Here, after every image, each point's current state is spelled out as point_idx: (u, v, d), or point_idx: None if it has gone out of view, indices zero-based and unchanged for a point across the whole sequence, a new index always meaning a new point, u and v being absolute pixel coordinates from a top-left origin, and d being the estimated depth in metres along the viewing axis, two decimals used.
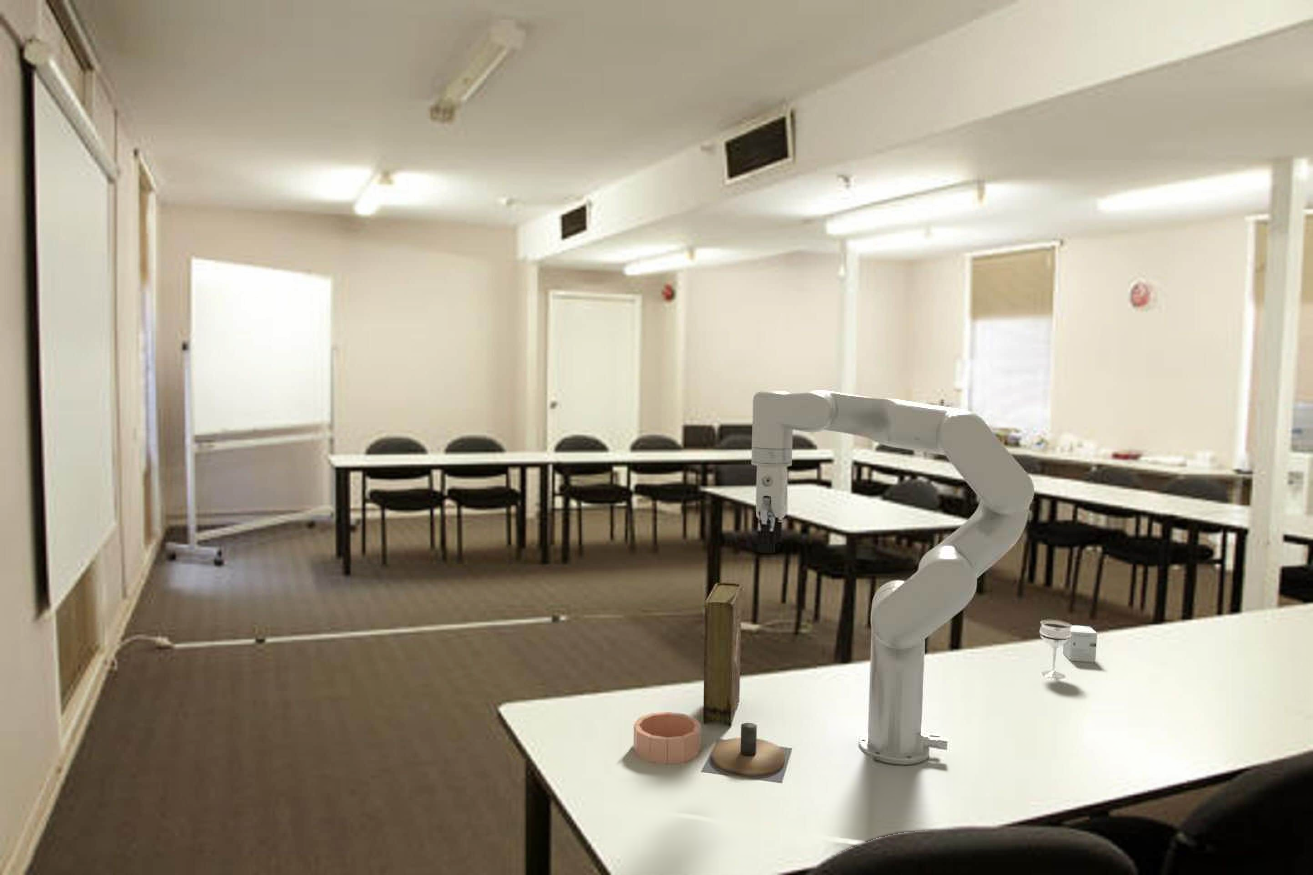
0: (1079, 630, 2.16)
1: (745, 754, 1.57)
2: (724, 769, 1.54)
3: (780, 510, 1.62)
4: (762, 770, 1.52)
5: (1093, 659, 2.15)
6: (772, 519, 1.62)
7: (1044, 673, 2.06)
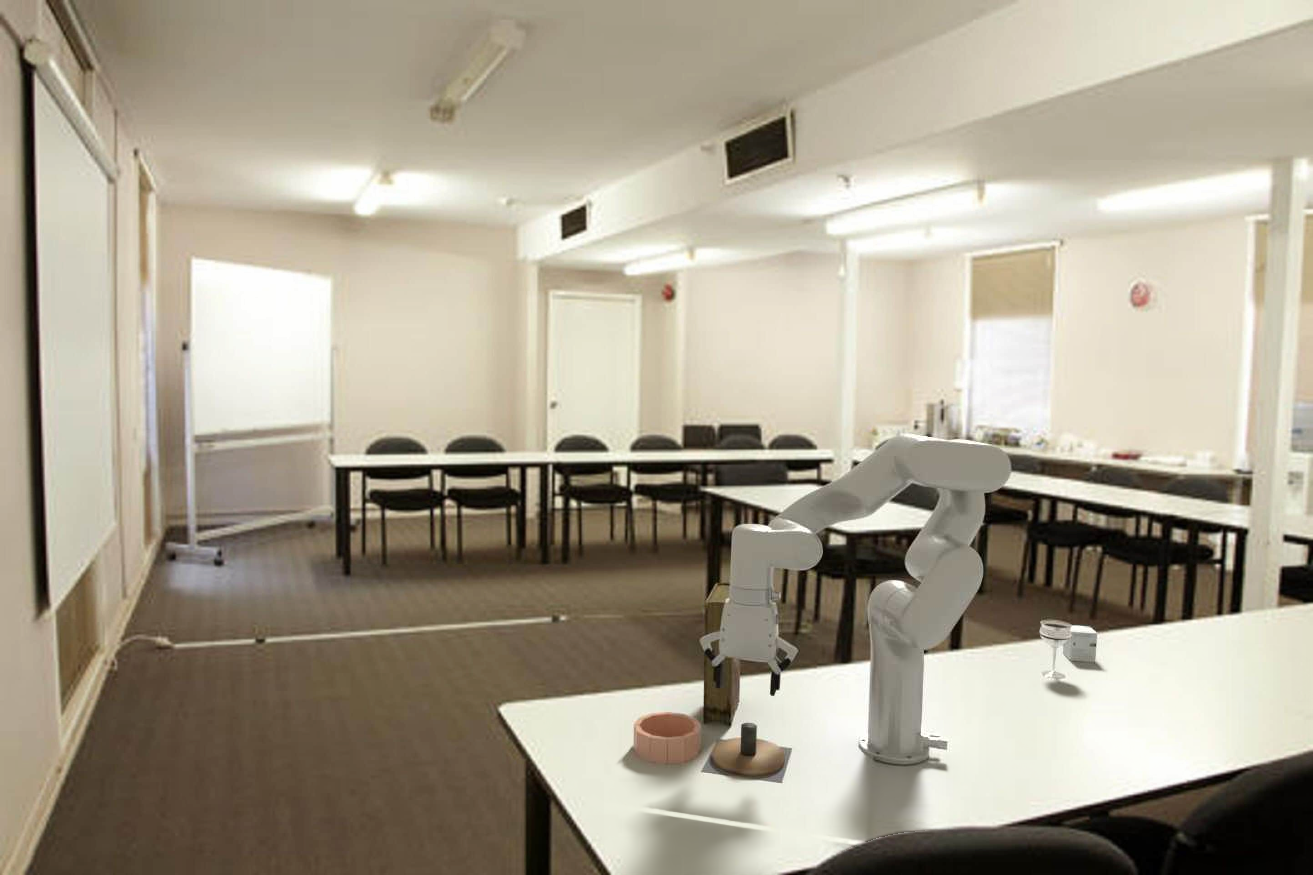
0: (1079, 630, 2.16)
1: (745, 754, 1.57)
2: (724, 769, 1.54)
3: None
4: (762, 770, 1.52)
5: (1093, 659, 2.15)
6: (776, 657, 1.57)
7: (1044, 673, 2.06)
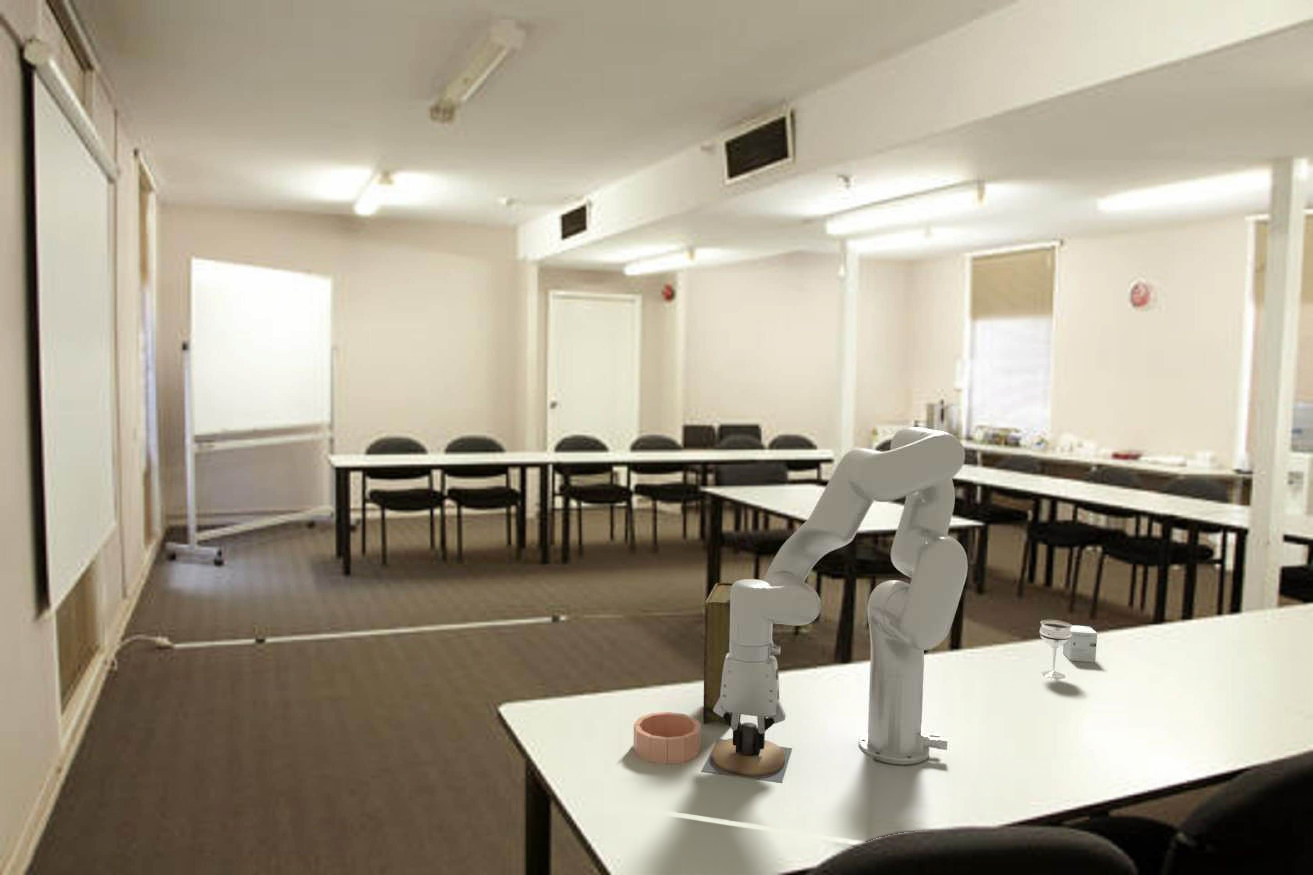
0: (1079, 630, 2.16)
1: (745, 754, 1.57)
2: (724, 769, 1.54)
3: None
4: (763, 770, 1.52)
5: (1093, 659, 2.15)
6: (766, 716, 1.58)
7: (1044, 673, 2.06)
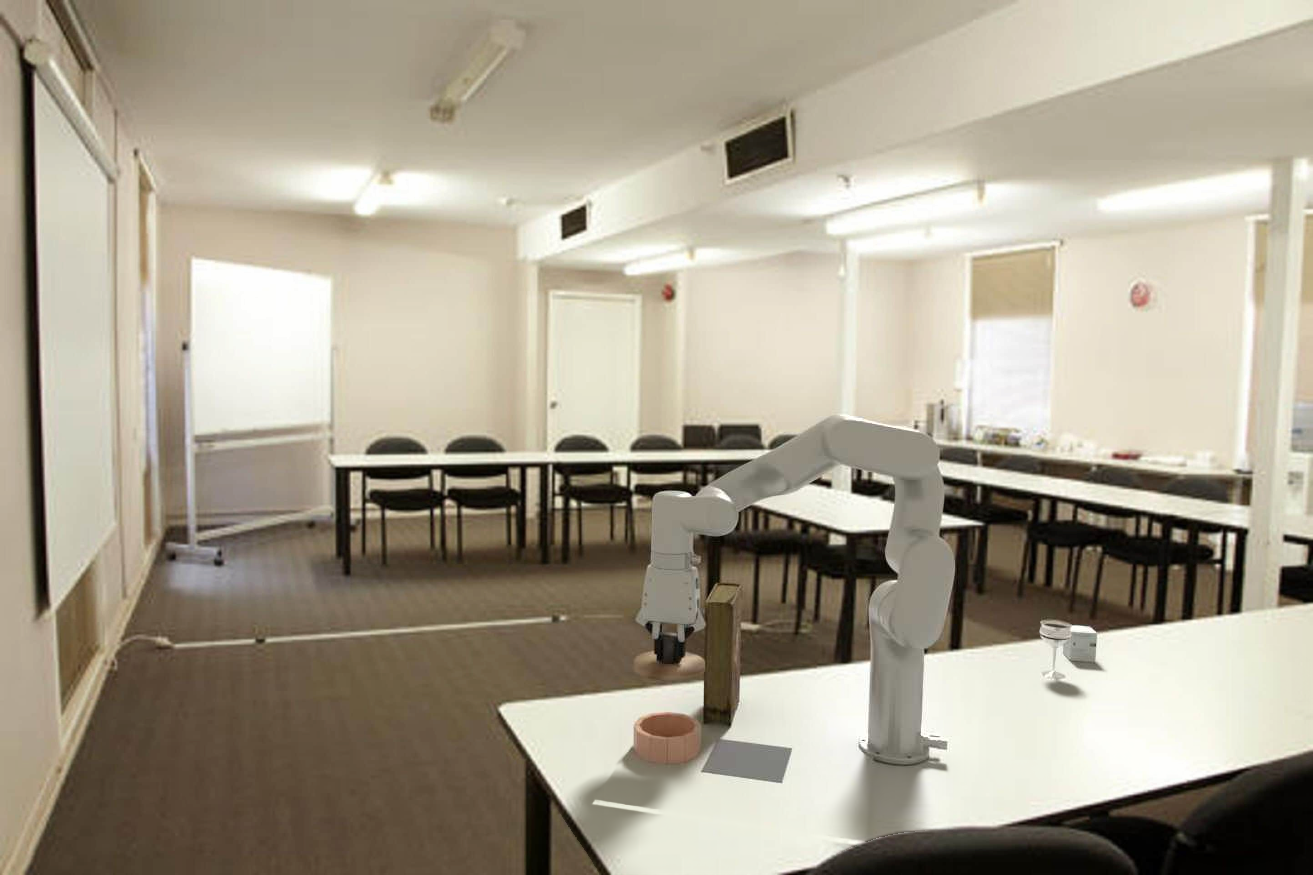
0: (1079, 630, 2.16)
1: (666, 662, 1.60)
2: (643, 675, 1.57)
3: None
4: (680, 675, 1.55)
5: (1093, 659, 2.15)
6: (687, 626, 1.61)
7: (1044, 673, 2.06)
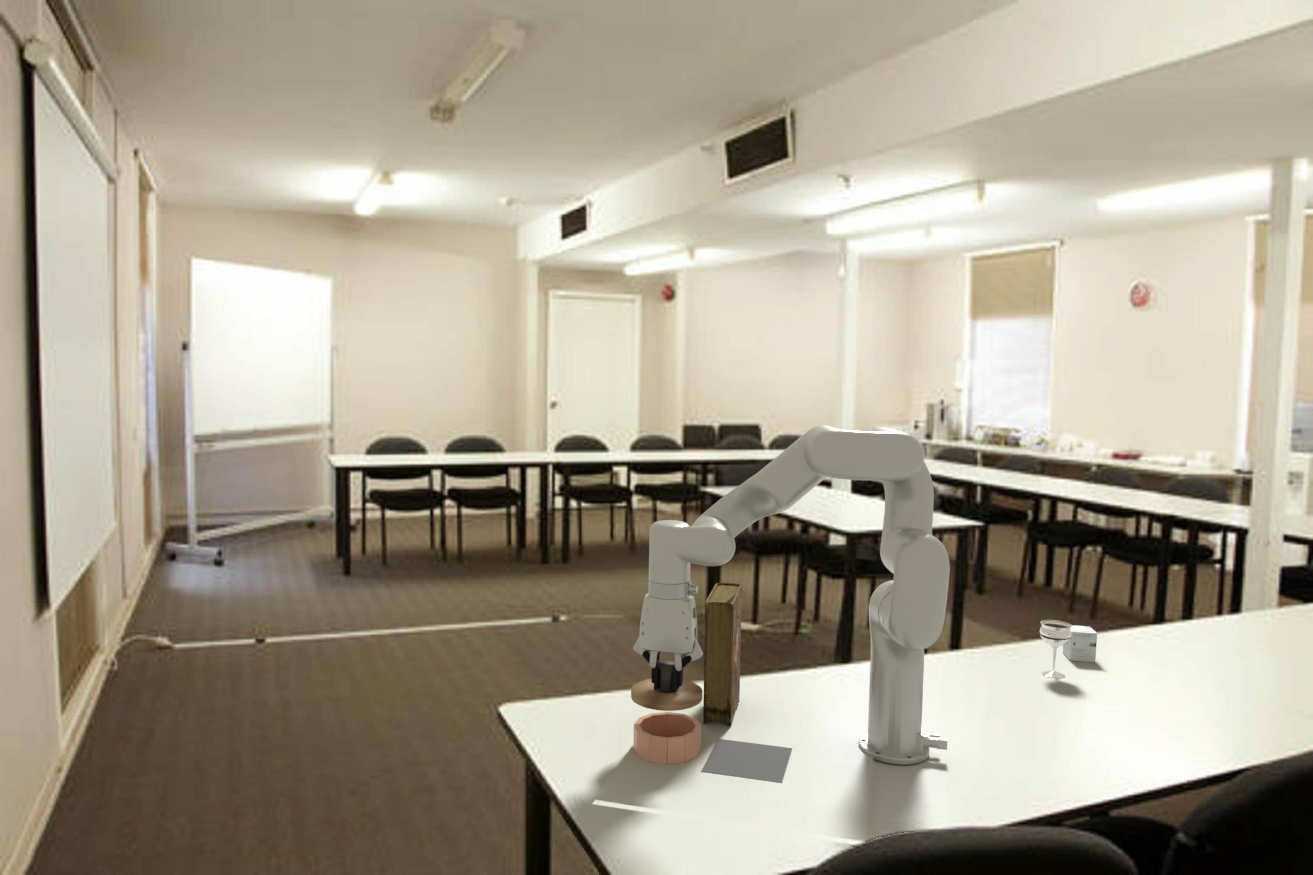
0: (1079, 630, 2.16)
1: (663, 691, 1.60)
2: (640, 704, 1.57)
3: (696, 637, 1.62)
4: (677, 705, 1.56)
5: (1093, 659, 2.15)
6: (684, 654, 1.61)
7: (1044, 673, 2.06)
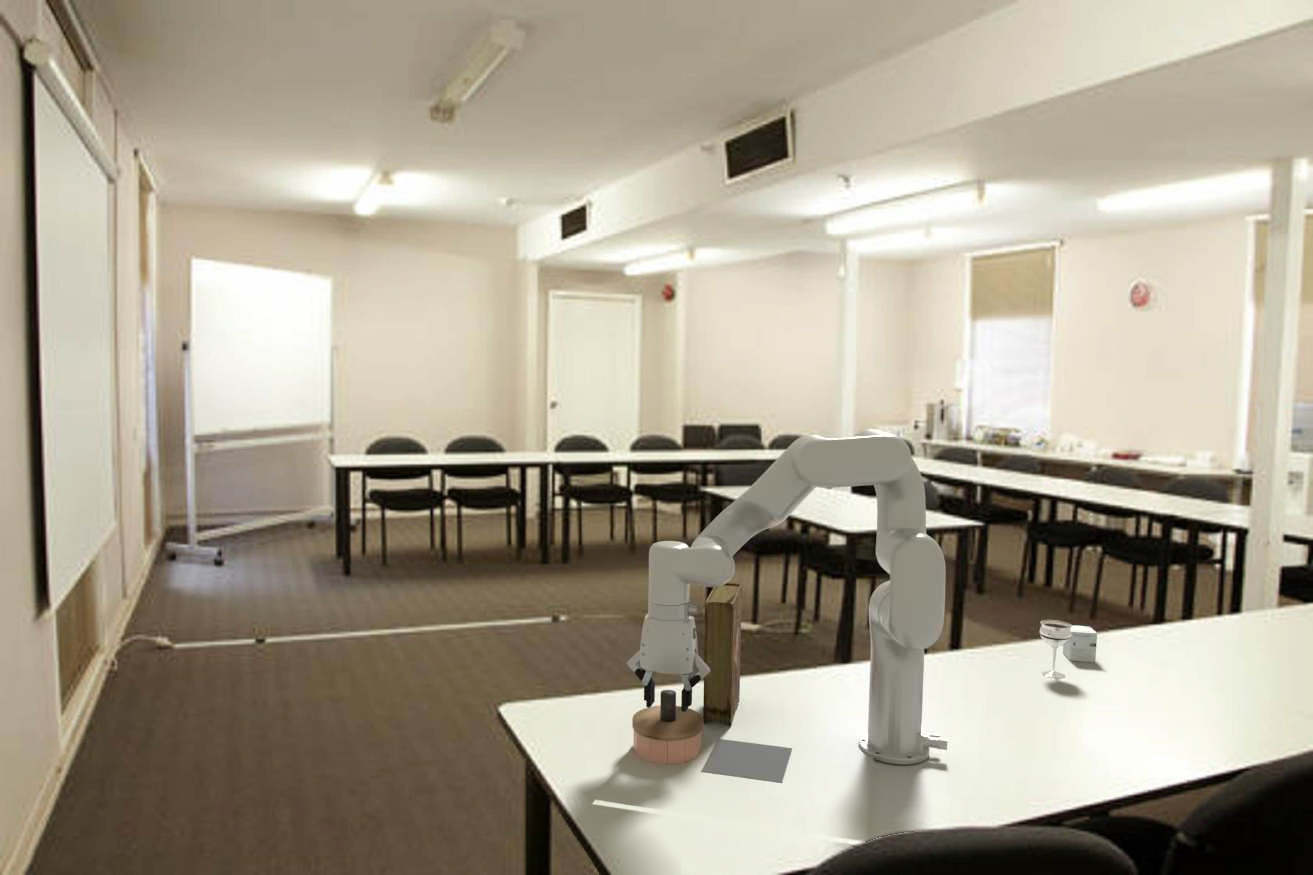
0: (1079, 630, 2.16)
1: (664, 720, 1.61)
2: (642, 734, 1.58)
3: None
4: (679, 735, 1.56)
5: (1093, 659, 2.15)
6: None
7: (1044, 673, 2.06)
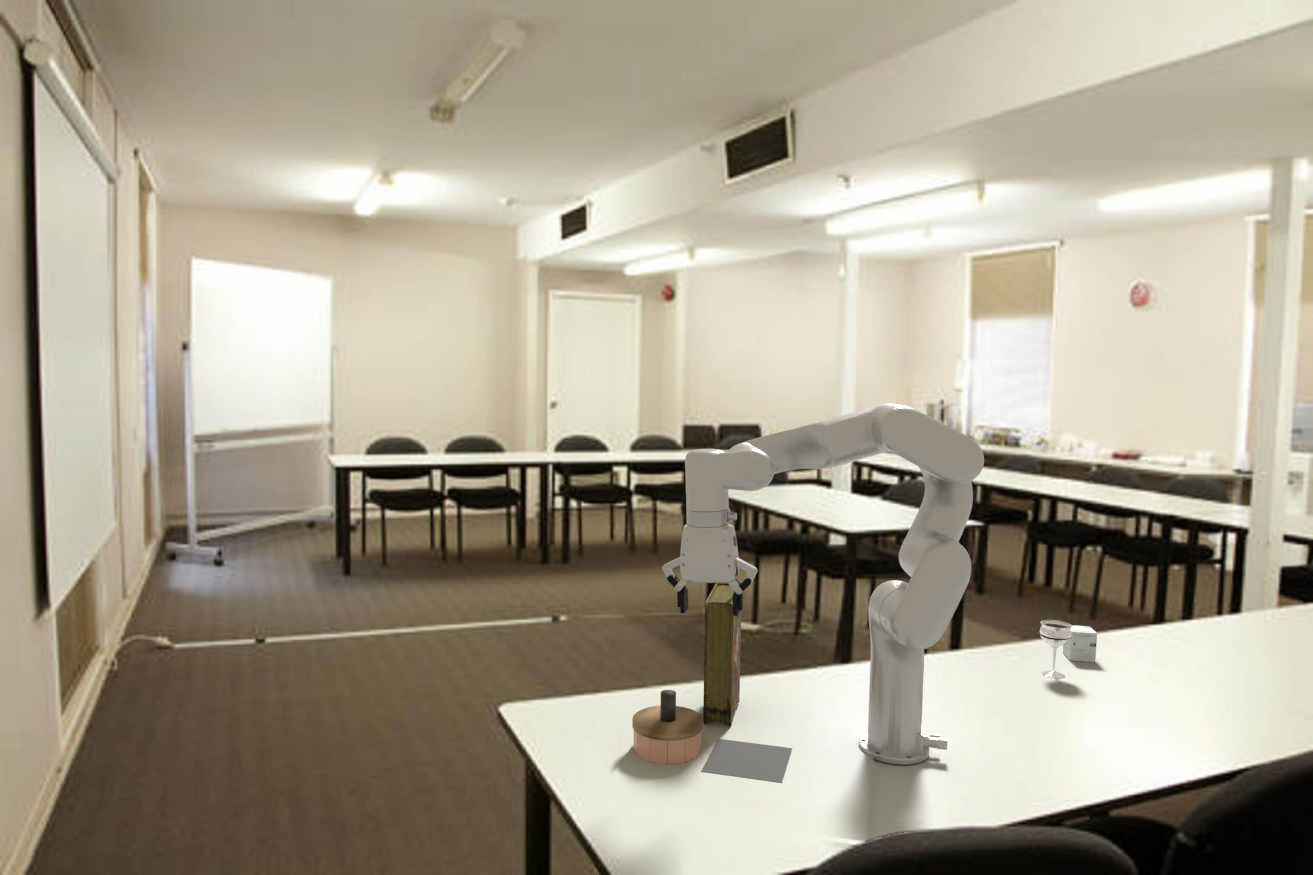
0: (1079, 630, 2.16)
1: (664, 720, 1.61)
2: (642, 734, 1.58)
3: None
4: (679, 735, 1.56)
5: (1093, 659, 2.15)
6: (738, 578, 1.58)
7: (1044, 673, 2.06)
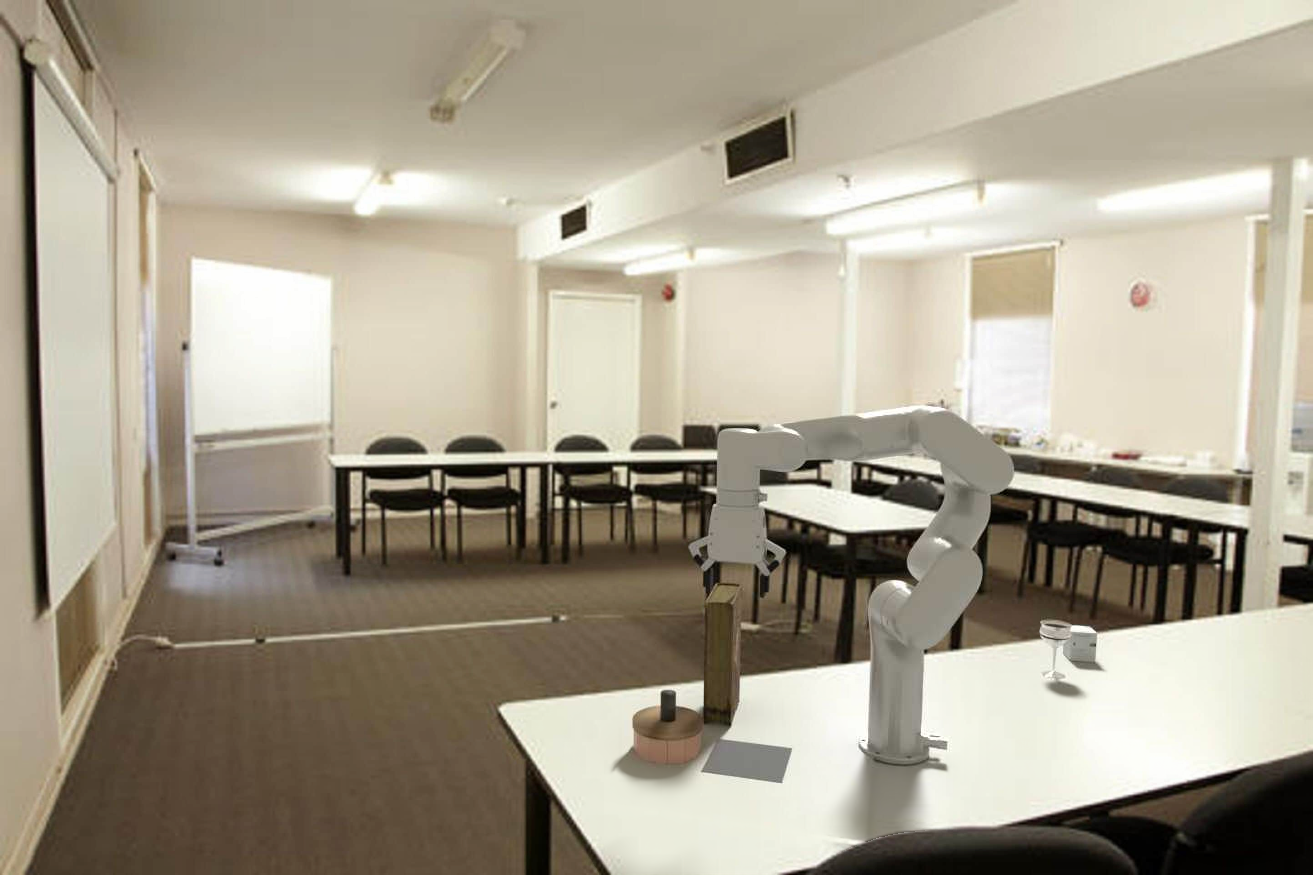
0: (1079, 630, 2.16)
1: (664, 720, 1.61)
2: (642, 734, 1.58)
3: (765, 549, 1.58)
4: (679, 735, 1.56)
5: (1093, 659, 2.15)
6: (765, 560, 1.57)
7: (1044, 673, 2.06)
